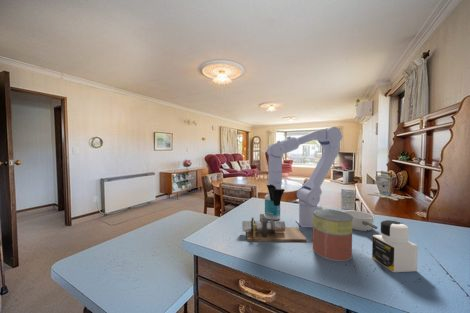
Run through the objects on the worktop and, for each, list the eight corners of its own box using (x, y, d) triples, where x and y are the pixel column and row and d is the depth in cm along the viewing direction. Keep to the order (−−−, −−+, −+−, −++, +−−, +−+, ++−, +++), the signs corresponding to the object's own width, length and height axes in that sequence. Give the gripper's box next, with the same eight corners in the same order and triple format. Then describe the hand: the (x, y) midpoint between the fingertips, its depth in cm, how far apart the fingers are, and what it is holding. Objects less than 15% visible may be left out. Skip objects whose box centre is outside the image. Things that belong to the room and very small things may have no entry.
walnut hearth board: (296, 229, 78) (296, 227, 78) (306, 241, 67) (306, 239, 67) (246, 228, 78) (246, 226, 78) (247, 241, 67) (247, 238, 67)
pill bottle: (280, 221, 88) (280, 192, 87) (264, 220, 89) (264, 191, 89) (279, 215, 95) (280, 189, 95) (264, 214, 96) (265, 188, 96)
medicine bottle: (371, 258, 57) (372, 218, 57) (393, 257, 58) (394, 218, 57) (393, 273, 50) (394, 227, 50) (418, 271, 51) (419, 227, 50)
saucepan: (357, 240, 69) (357, 225, 68) (338, 221, 88) (338, 209, 88) (393, 244, 66) (394, 228, 66) (366, 223, 86) (366, 211, 86)
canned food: (344, 244, 65) (345, 210, 65) (358, 263, 54) (359, 222, 54) (309, 241, 68) (310, 208, 67) (316, 258, 57) (317, 218, 56)
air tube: (282, 230, 75) (282, 218, 75) (285, 235, 71) (285, 222, 71) (242, 229, 75) (242, 218, 75) (242, 234, 71) (242, 222, 71)
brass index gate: (254, 228, 77) (254, 216, 77) (256, 237, 69) (257, 224, 69) (250, 228, 77) (250, 216, 77) (251, 237, 69) (252, 224, 69)
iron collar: (263, 228, 77) (263, 214, 77) (266, 237, 69) (266, 221, 69) (259, 228, 77) (259, 214, 77) (262, 237, 69) (262, 221, 69)
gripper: (263, 169, 89) (263, 198, 89) (268, 173, 74) (268, 207, 74) (278, 170, 89) (278, 198, 89) (286, 173, 74) (286, 207, 74)
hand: (274, 202), depth 82 cm, fingers open, 7 cm apart
